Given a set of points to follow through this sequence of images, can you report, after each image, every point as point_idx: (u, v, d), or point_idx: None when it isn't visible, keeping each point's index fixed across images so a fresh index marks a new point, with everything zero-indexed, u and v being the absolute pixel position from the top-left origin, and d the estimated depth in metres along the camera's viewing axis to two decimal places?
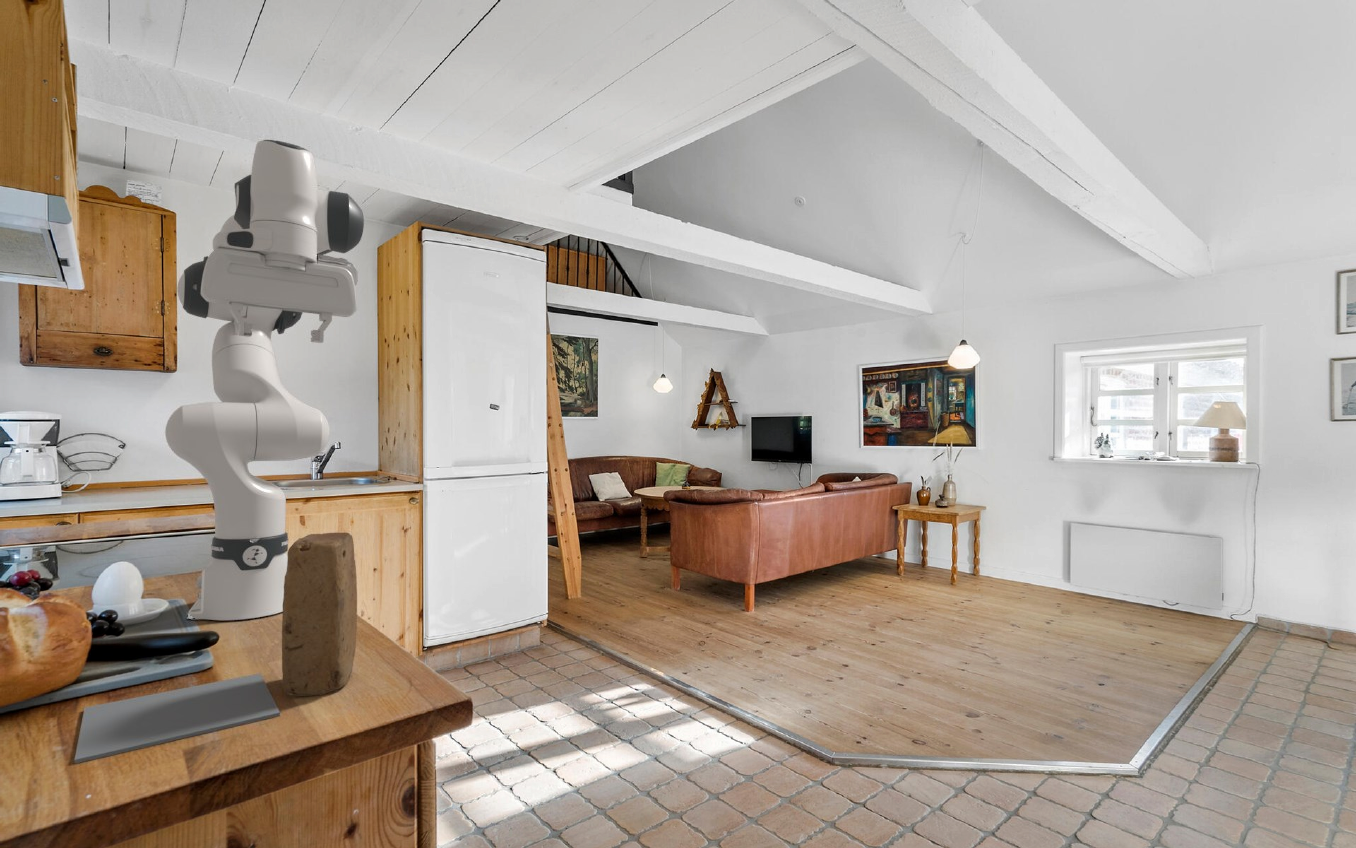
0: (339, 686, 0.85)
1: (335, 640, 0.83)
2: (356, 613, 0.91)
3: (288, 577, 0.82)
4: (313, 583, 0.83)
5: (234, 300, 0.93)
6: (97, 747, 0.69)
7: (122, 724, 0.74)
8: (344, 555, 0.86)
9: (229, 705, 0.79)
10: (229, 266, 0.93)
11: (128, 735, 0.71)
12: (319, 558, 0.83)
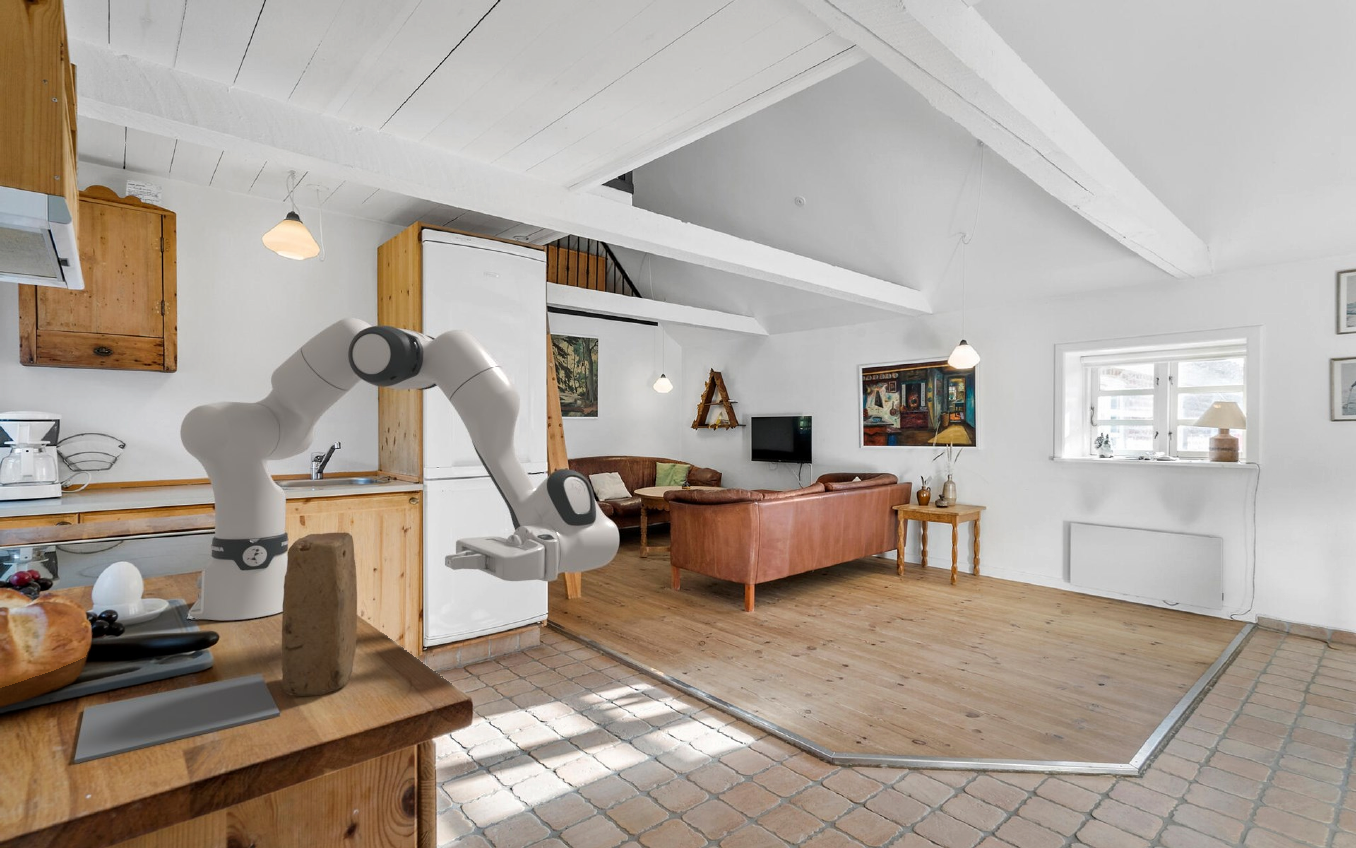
0: (339, 686, 0.85)
1: (335, 640, 0.83)
2: (356, 613, 0.91)
3: (288, 577, 0.82)
4: (313, 583, 0.83)
5: (495, 576, 0.97)
6: (97, 747, 0.69)
7: (122, 724, 0.74)
8: (344, 555, 0.86)
9: (229, 705, 0.79)
10: None
11: (128, 735, 0.71)
12: (319, 558, 0.83)
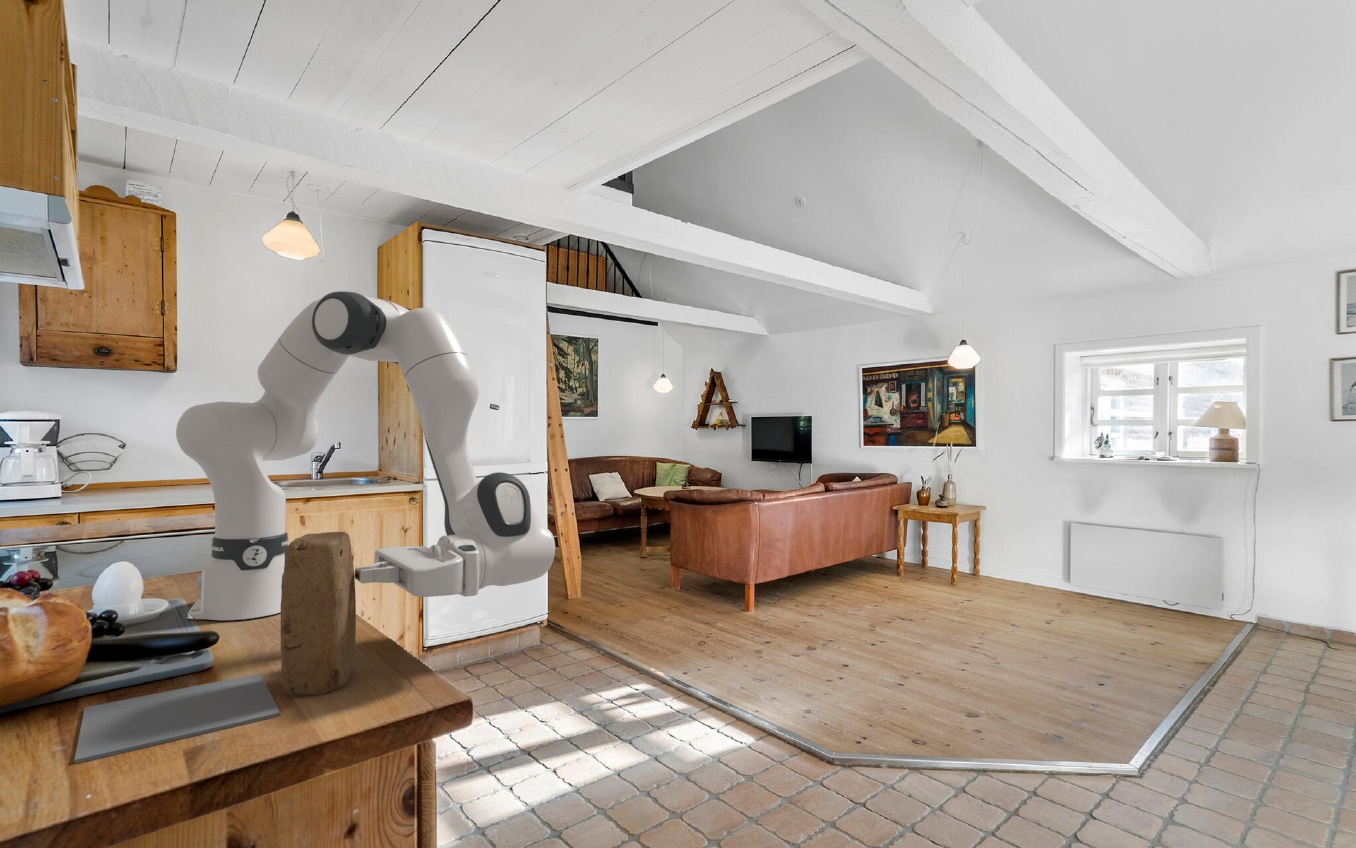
0: (339, 685, 0.85)
1: (334, 639, 0.83)
2: (355, 612, 0.91)
3: (285, 576, 0.82)
4: (310, 583, 0.83)
5: (407, 591, 0.89)
6: (97, 747, 0.69)
7: (122, 724, 0.74)
8: (341, 554, 0.86)
9: (229, 705, 0.79)
10: None
11: (128, 735, 0.71)
12: (316, 557, 0.83)
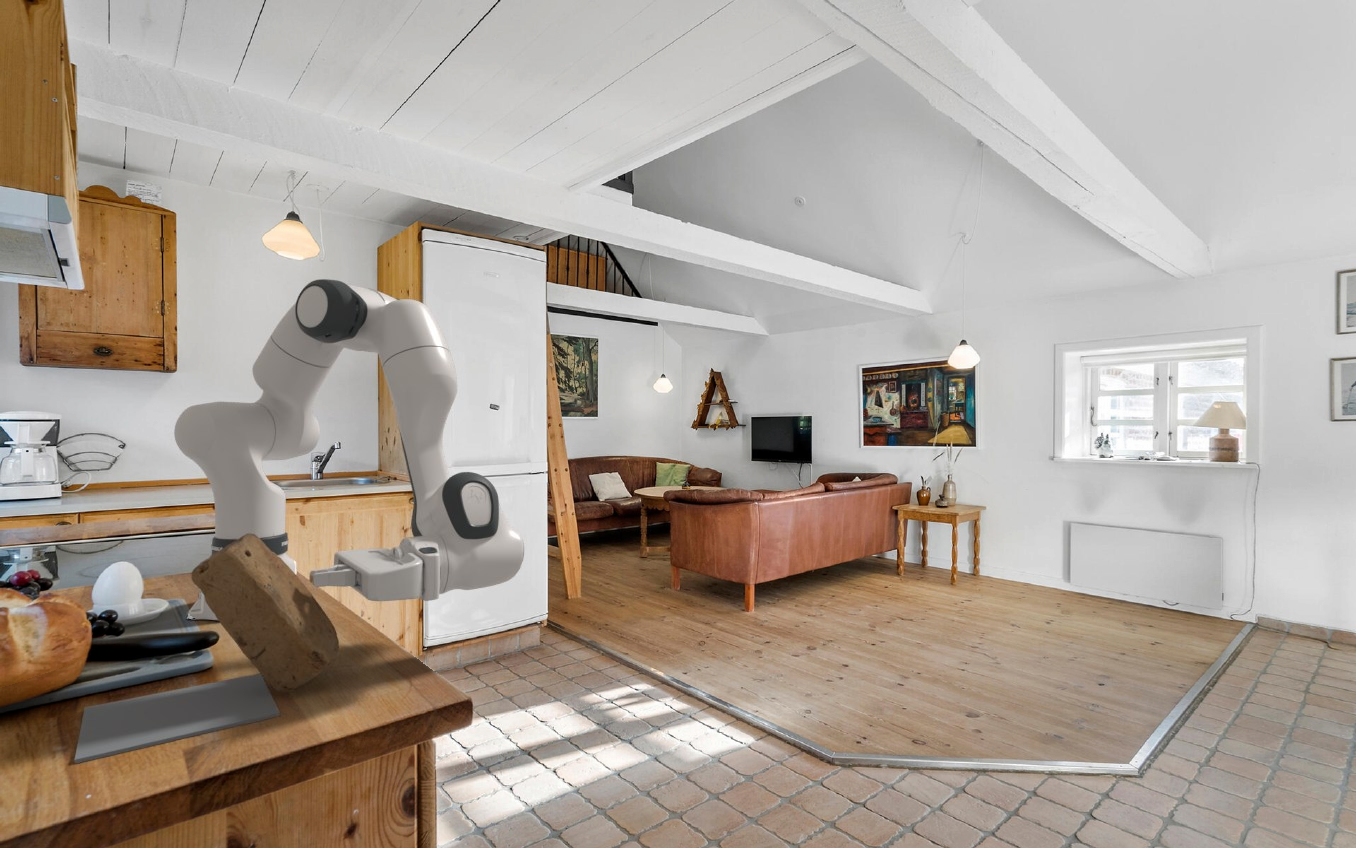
0: (327, 662, 0.84)
1: (292, 628, 0.81)
2: (310, 595, 0.89)
3: (207, 600, 0.79)
4: (234, 593, 0.79)
5: (362, 595, 0.85)
6: (97, 747, 0.69)
7: (122, 724, 0.74)
8: (249, 554, 0.81)
9: (229, 705, 0.79)
10: None
11: (128, 735, 0.71)
12: (223, 569, 0.79)
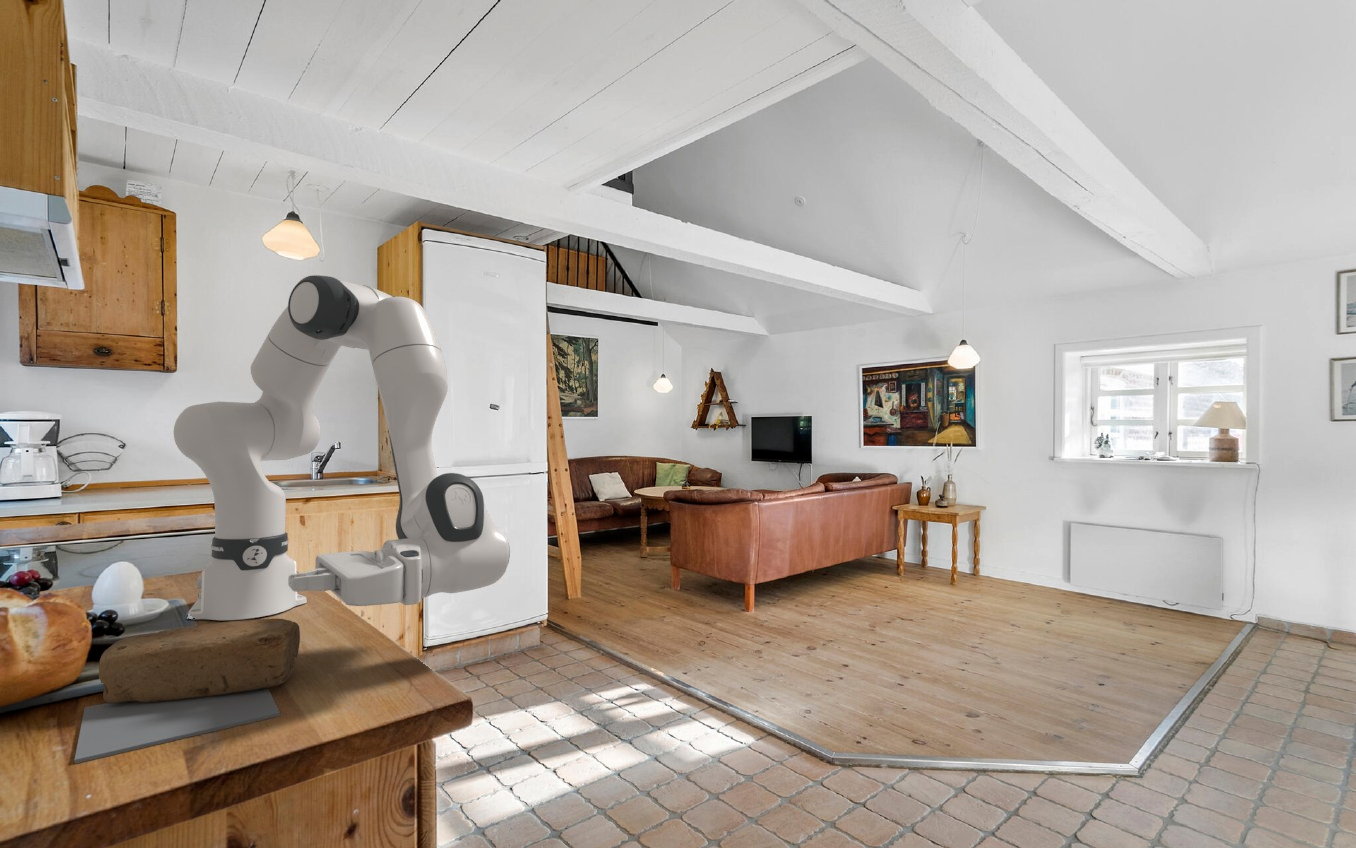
0: (281, 635, 0.85)
1: (219, 645, 0.81)
2: (229, 622, 0.88)
3: (140, 699, 0.79)
4: (147, 675, 0.79)
5: (341, 599, 0.83)
6: (97, 747, 0.69)
7: (122, 724, 0.74)
8: (125, 647, 0.80)
9: (229, 705, 0.79)
10: None
11: (128, 735, 0.71)
12: (115, 673, 0.78)
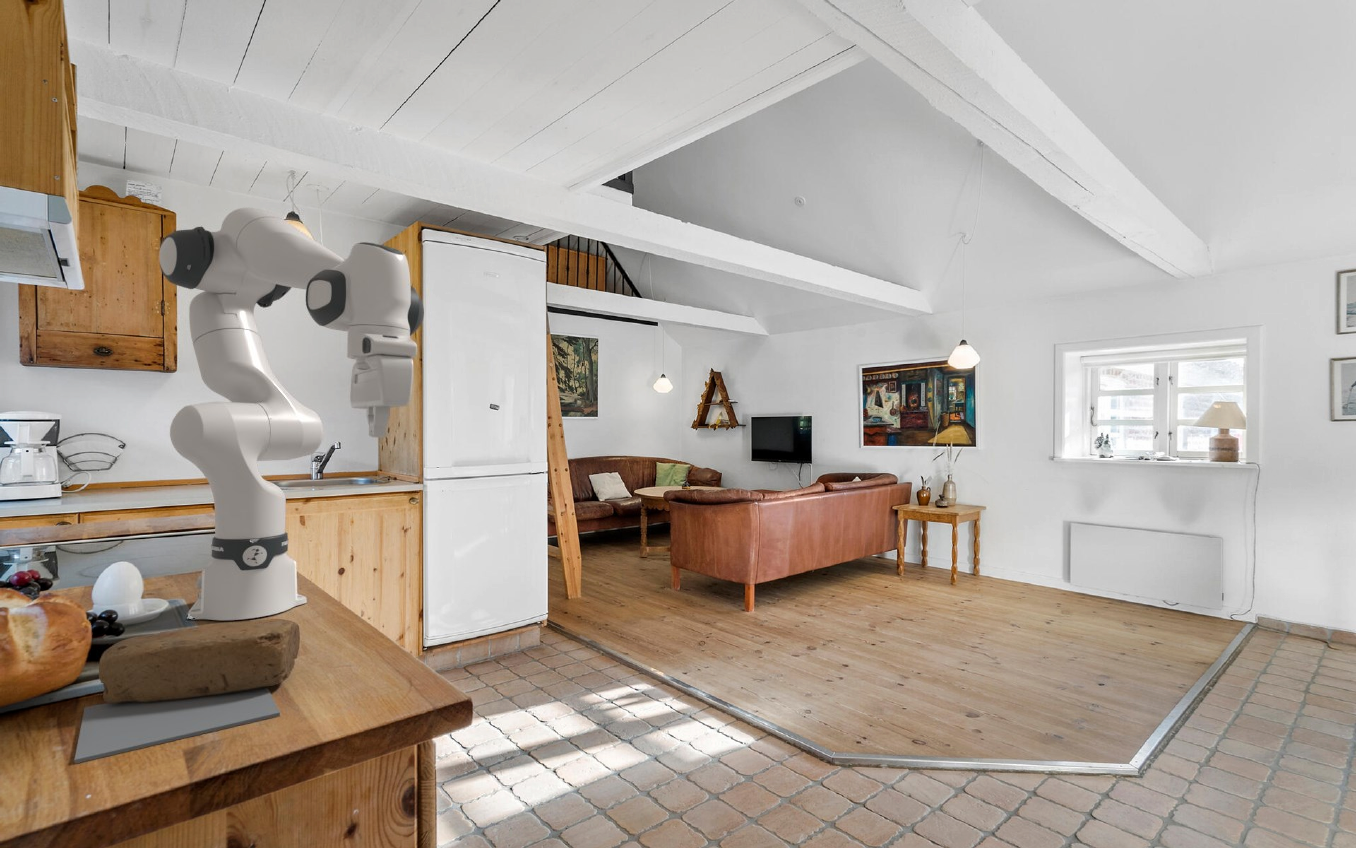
0: (280, 633, 0.85)
1: (219, 644, 0.81)
2: (228, 623, 0.89)
3: (140, 699, 0.79)
4: (147, 674, 0.79)
5: None
6: (97, 747, 0.69)
7: (122, 724, 0.74)
8: (125, 647, 0.80)
9: (229, 705, 0.79)
10: None
11: (128, 735, 0.71)
12: (115, 672, 0.78)
